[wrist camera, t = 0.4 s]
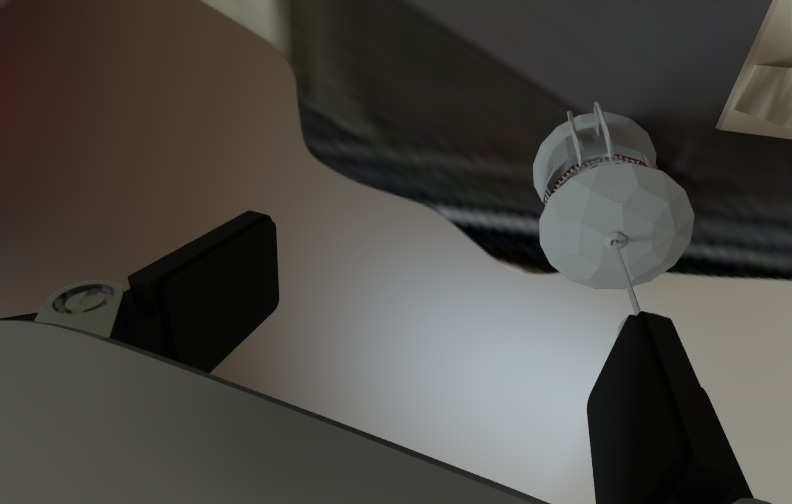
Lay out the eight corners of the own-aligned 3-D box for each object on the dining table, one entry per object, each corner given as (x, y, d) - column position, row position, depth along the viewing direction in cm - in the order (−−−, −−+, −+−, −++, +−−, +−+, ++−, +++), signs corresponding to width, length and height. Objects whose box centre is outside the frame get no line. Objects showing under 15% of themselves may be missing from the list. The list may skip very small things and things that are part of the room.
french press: (545, 232, 39) (540, 449, 18) (515, 113, 36) (464, 212, 14) (664, 208, 35) (837, 455, 14) (644, 70, 31) (837, 122, 10)
